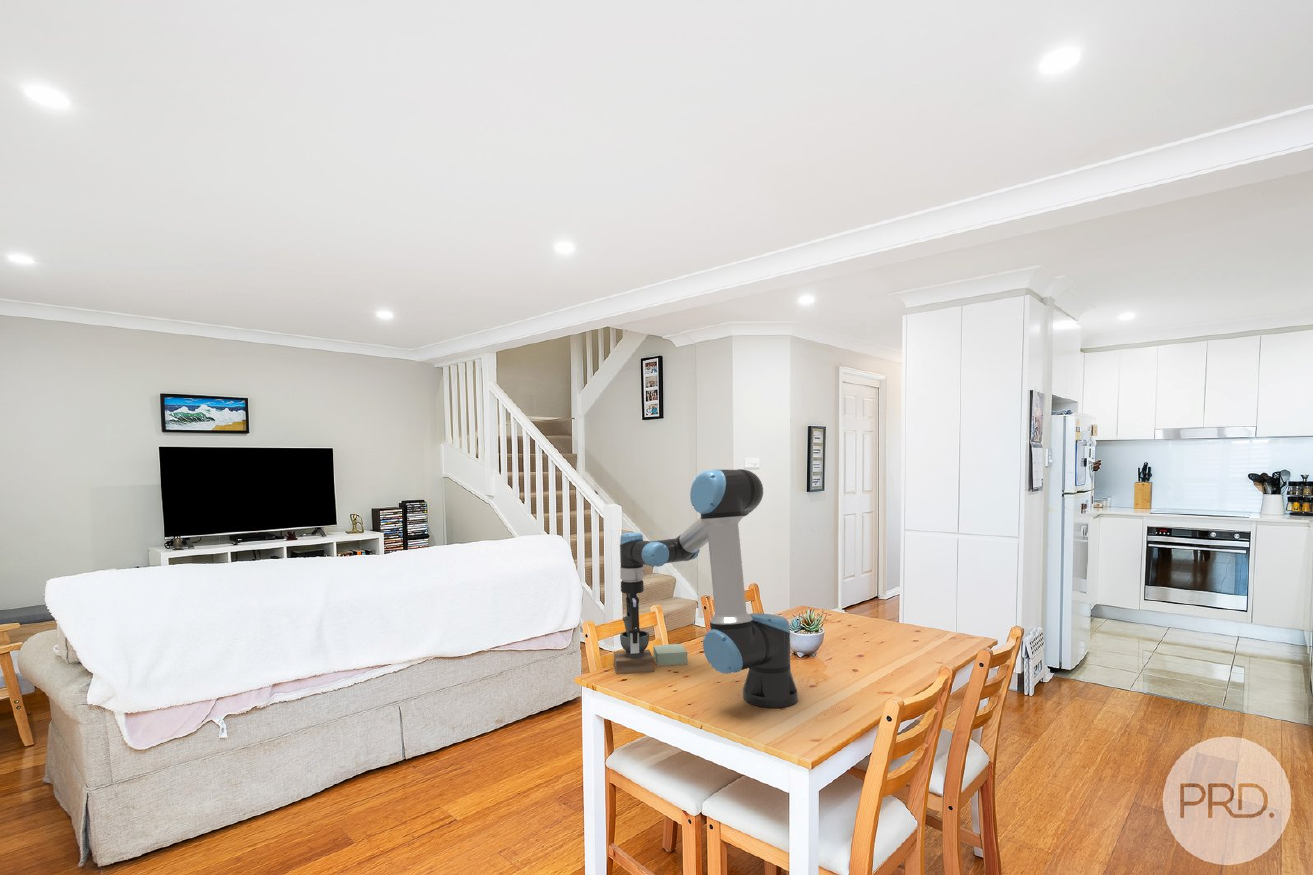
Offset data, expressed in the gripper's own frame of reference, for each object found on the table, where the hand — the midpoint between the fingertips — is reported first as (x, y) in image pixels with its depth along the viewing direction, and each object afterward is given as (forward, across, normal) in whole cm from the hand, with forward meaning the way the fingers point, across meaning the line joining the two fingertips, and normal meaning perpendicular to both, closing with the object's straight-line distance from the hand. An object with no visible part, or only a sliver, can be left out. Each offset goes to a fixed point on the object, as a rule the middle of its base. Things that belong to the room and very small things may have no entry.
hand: (633, 648), depth 211 cm
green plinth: (+6, +5, -13) cm, 15 cm away
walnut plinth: (+6, 0, 0) cm, 6 cm away
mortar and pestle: (+2, 0, 0) cm, 2 cm away
